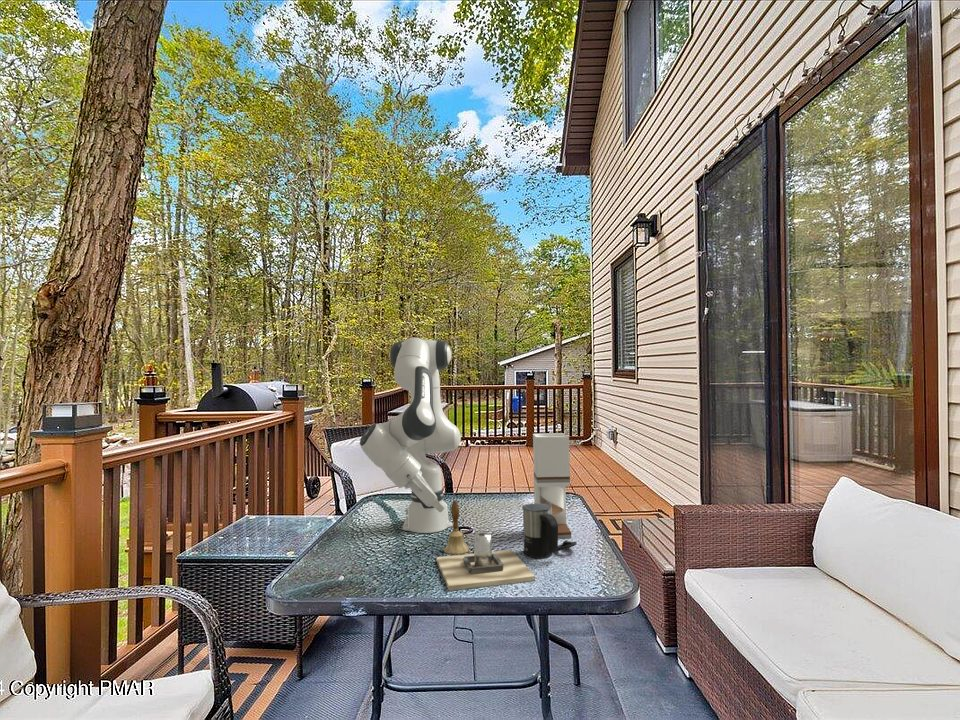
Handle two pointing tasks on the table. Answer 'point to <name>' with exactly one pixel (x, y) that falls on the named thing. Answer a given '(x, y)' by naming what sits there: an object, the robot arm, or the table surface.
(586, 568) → the table surface
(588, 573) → the table surface
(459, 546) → the hand bell
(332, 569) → the table surface
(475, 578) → the hub board
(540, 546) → the milk frother
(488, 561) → the sleeve
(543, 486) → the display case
